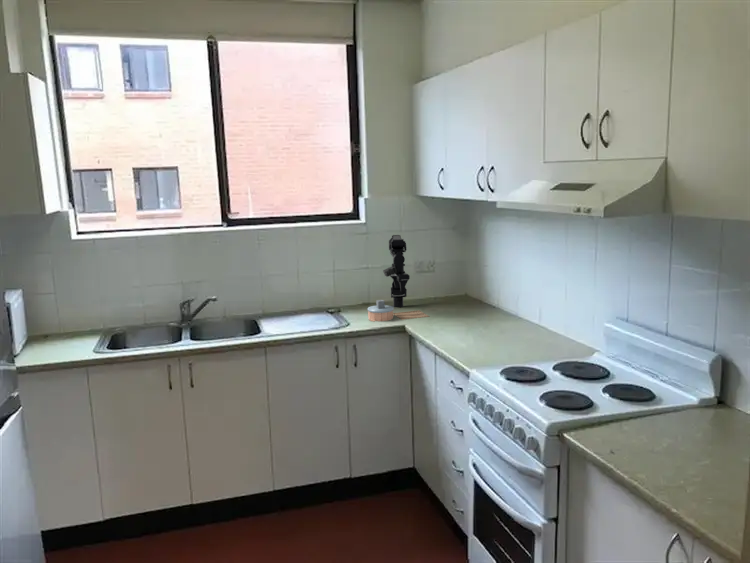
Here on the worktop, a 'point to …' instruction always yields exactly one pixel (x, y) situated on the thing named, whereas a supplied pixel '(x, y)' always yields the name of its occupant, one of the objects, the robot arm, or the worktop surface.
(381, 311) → the lid
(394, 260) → the robot arm
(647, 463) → the worktop surface
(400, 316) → the board
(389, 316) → the bowl
